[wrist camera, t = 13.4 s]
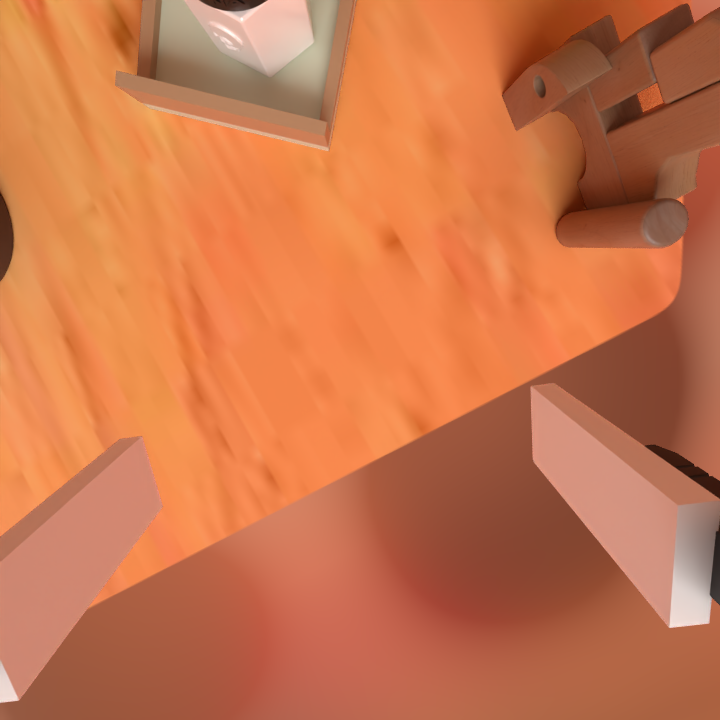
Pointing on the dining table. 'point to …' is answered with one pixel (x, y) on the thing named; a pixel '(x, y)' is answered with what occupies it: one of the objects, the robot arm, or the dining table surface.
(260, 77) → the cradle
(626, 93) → the wooden toy
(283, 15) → the jar
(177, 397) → the dining table surface
